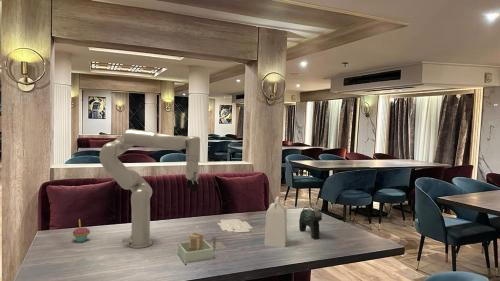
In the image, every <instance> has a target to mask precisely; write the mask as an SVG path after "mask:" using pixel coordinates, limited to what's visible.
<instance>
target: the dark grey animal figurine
mask: <svg viewBox="0 0 500 281" xmlns="http://www.w3.org/2000/svg"><path fill="white" fill-rule="evenodd" d="M310 206H313V208H312V209H310V208H309V207H308V206H304V207H303V209H302V211H300V215H299V221H298V222H299V226H298V227H299V232H301V233H303V232H304V233H305V232H306V228H307V226H308V227H309V229H310V234H311V236H310V237H311V239H313V240H319V239H320V221H322V220H323V214H322V211H321V209H320V208H319V209H318V210H317V208H314V203H310ZM306 208H307V209H306Z"/></svg>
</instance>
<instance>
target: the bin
mask: <svg viewBox="0 0 500 281" xmlns="http://www.w3.org/2000/svg"><path fill="white" fill-rule="evenodd" d="M208 243H209V242H207V241H206V239H203V250H198V251H191V252H189V241H184V242H178V243H177V256H178V257H179V259H180V260H181V262H182V263H183V265H184V266H188V264H187V263H190V262H196V261H197V262H198V261H202V260H210V259H214V249H213V248H212V247H211V246H210V245H209V244H208Z"/></svg>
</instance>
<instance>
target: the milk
mask: <svg viewBox="0 0 500 281" xmlns="http://www.w3.org/2000/svg"><path fill="white" fill-rule="evenodd" d="M268 206H269V207H268V209H267V210H266V215H265V229H264V243H263V244H264V245H263V246H268V247H269V246H270V247H279V248H280V247H281V248H285V247H286V243H287V239H288V238H287V237H288V229H287V228H288V227H287V225H288V224H287V222H288V221H287V220H288V219H287V217H288V216H287V215H288V214H287V213H288V212H287V208H286V207H285V205H284V204H282V202H281V201H280V196H276V197H275V200H274V202H271V203H270V205H268Z"/></svg>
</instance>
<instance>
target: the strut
mask: <svg viewBox="0 0 500 281" xmlns="http://www.w3.org/2000/svg"><path fill="white" fill-rule="evenodd" d="M188 238H189V239H188V242H189V251H188V252H191V251H198V250H204V249H203V240H204V234H203V233H199V232H193V233H192V234H190V235H189V237H188Z"/></svg>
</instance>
